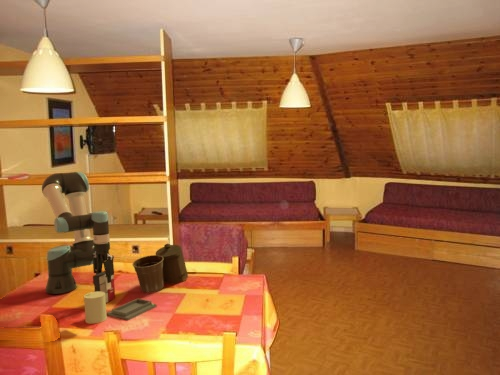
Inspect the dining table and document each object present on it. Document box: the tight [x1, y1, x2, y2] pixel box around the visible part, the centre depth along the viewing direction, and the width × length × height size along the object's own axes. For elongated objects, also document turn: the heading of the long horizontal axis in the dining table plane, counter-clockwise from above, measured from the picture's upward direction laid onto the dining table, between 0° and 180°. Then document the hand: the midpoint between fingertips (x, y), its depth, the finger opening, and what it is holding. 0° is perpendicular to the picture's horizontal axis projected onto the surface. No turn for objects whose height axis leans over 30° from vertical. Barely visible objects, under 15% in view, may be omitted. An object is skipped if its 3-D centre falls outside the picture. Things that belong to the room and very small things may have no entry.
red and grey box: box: [92, 270, 116, 304], centre depth 208 cm, size 11×4×15 cm, turn 159°
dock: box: [106, 298, 157, 321], centre depth 196 cm, size 14×18×2 cm
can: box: [83, 291, 108, 325], centre depth 186 cm, size 9×9×12 cm
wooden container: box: [155, 243, 189, 285], centre depth 234 cm, size 15×15×22 cm
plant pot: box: [132, 254, 165, 294], centre depth 223 cm, size 16×16×16 cm
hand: (104, 288), depth 208 cm, fingers closed on red and grey box, 5 cm apart
